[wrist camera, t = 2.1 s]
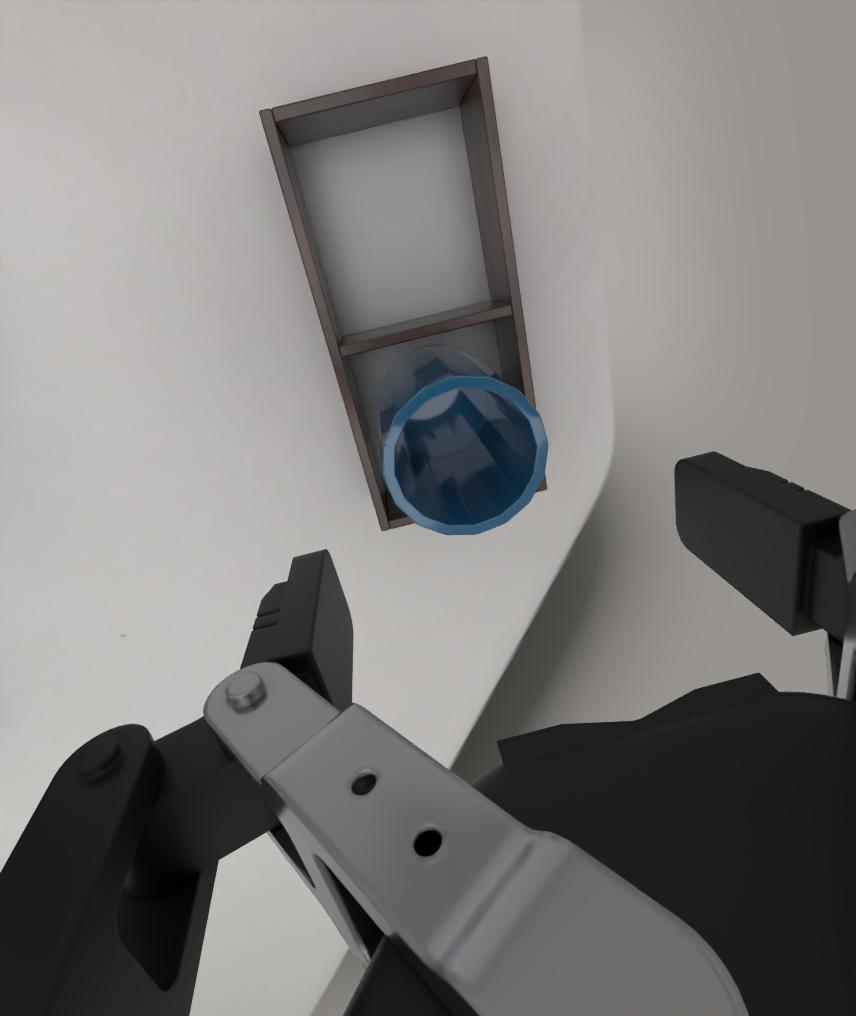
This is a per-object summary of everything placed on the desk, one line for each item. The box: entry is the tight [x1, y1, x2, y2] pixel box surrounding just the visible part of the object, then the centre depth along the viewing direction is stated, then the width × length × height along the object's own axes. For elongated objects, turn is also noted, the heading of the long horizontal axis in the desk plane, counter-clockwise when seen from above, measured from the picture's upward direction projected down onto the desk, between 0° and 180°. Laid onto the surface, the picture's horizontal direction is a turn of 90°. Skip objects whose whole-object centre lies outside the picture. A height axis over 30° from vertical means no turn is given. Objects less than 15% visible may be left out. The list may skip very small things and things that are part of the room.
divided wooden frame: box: [259, 56, 547, 531], centre depth 21 cm, size 15×7×4 cm, turn 12°
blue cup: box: [377, 345, 548, 535], centre depth 21 cm, size 5×5×8 cm
